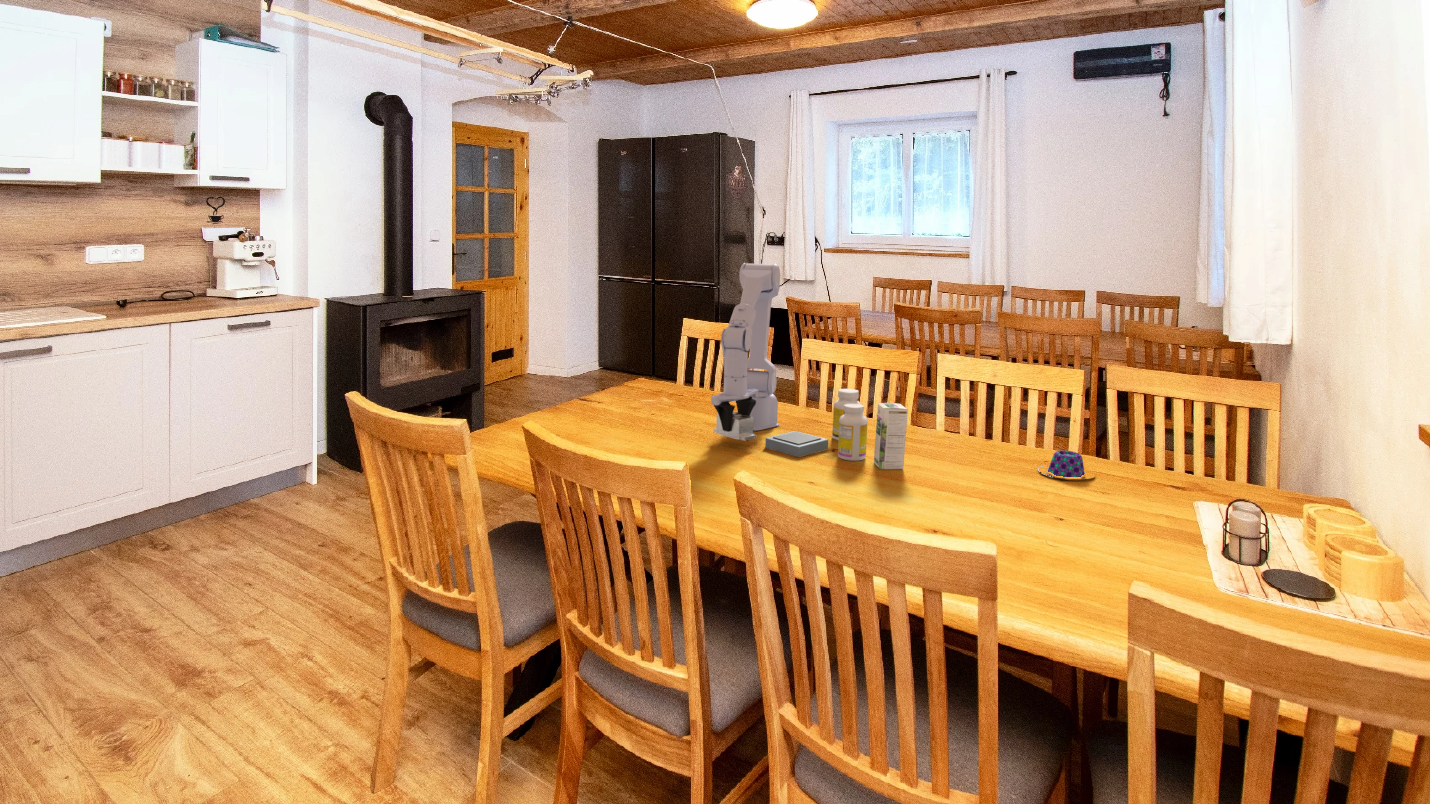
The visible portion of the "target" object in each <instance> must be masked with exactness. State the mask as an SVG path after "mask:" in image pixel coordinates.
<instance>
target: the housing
mask: <svg viewBox="0 0 1430 804" xmlns="http://www.w3.org/2000/svg"><path fill="white" fill-rule="evenodd" d="M715 425H716V426H715V428H713V430H712V431H713V433H716V434H718V435H721V436H724V437H727V438H731V439H734V440H738V441H744V442H746V441H750V440H754V439H757V434H755V433H754V430H753V417H752V416H748V415H744V414H741V413H739V412H738V411H733V415H732V422H731V430H730V432H727V431H723V428H722V424H721V420H720V417H719V414H718V413H717V414H716V424H715Z"/></svg>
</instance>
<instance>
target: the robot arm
mask: <svg viewBox="0 0 1430 804" xmlns="http://www.w3.org/2000/svg"><path fill="white" fill-rule="evenodd" d="M780 282H781V269H780V266H779V265H778V264H777V263H773V264H772V263H770V264H769V263H747V262H743V263H742V264H741V266H740V268H739V283H740V285H741V288H742V292H741V298H740V301H739V302H740V303H739V304H737V305H735V307H734V308H733V311H732V314H731V316H730V320H729V323H728V324H727V325H728V326H727V327H725V328H723V330H722V332H721V336H720V337H721V338H720V345H721V349H722V357H723V358H724V359H723V362H724V363H723V392H720V393H719V394H716V395H713V396H710V404H711V405H713V407H714V409H715V411H716V412H717V414H719V417H720V420H721V424H722V428H723V431H727V432H730V430H731V422H732V415H733V412H735V408H736V409H737V412H739V413H741V414H744V415H748V416H752V417H753V432H754V431H755V432H757V431H762V430H767V429H771V428H775V427H779V426H780V423H779V422H778V411H779V410H778V409H779V403H778V398H777V397H776V396H775V394H774V393H775V392H776V388H777V379H778V378H777V368H776V365H774V364H773V363H772V361H770V360H769V359H768V348H769V347H768V346H769V333H770V320H771V307H772V302H773V298H776V297H777V296H779V292H780V285H781V283H780ZM748 352H749V353H748ZM748 354H749V355H748ZM748 356H749V357H748ZM752 369H755V370H752ZM756 369H757V370H756ZM732 402H735V403H736V405H732V404H731V403H732Z"/></svg>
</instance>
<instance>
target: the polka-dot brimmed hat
mask: <svg viewBox="0 0 1430 804" xmlns="http://www.w3.org/2000/svg"><path fill="white" fill-rule="evenodd" d="M1047 465H1049V468H1048V472H1051V473H1053V474H1054V475H1056V476H1063V477H1081V476H1082V475H1084V474H1085V471H1084V469H1085V466H1084V459H1083V456H1082V455H1081V454H1080V453H1078V452H1075V451H1071V450H1056V451H1055V452H1054V453H1053V456H1052V458H1051V461H1050V463H1049V464H1046V465H1045V464H1044V465H1041V466H1040V467H1044V466H1047ZM1037 471H1038V472H1039V473H1040V471H1039V467H1037ZM1041 475H1044V476H1047V475H1045V474H1043V473H1041ZM1051 476H1052V475H1050V476H1047V477H1049V478H1052V477H1051Z"/></svg>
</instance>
